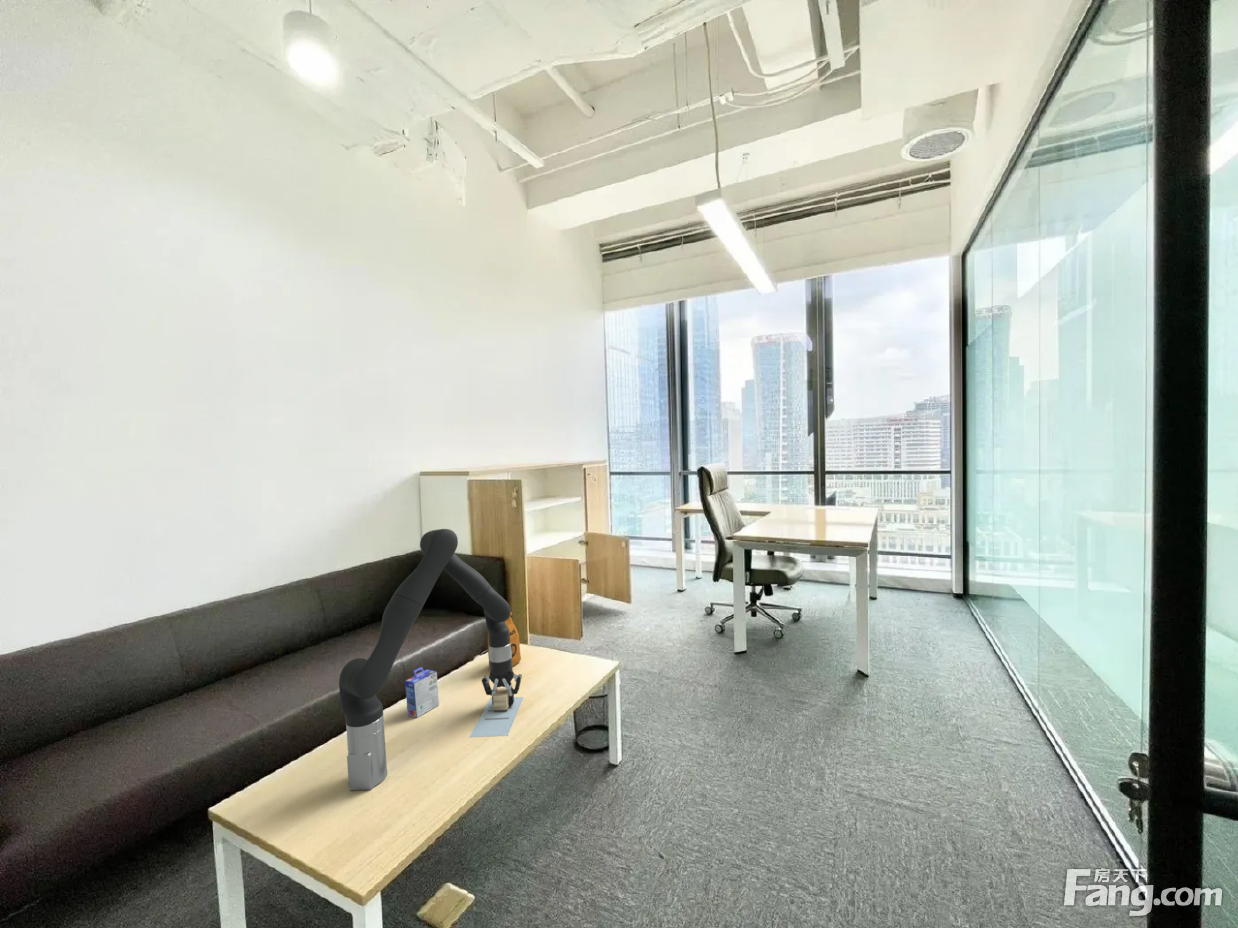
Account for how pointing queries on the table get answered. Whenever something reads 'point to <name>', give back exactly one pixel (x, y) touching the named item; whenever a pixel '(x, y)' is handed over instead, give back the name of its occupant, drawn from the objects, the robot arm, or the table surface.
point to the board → (496, 720)
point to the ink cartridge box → (421, 692)
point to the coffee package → (512, 641)
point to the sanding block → (501, 700)
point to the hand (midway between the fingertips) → (503, 705)
